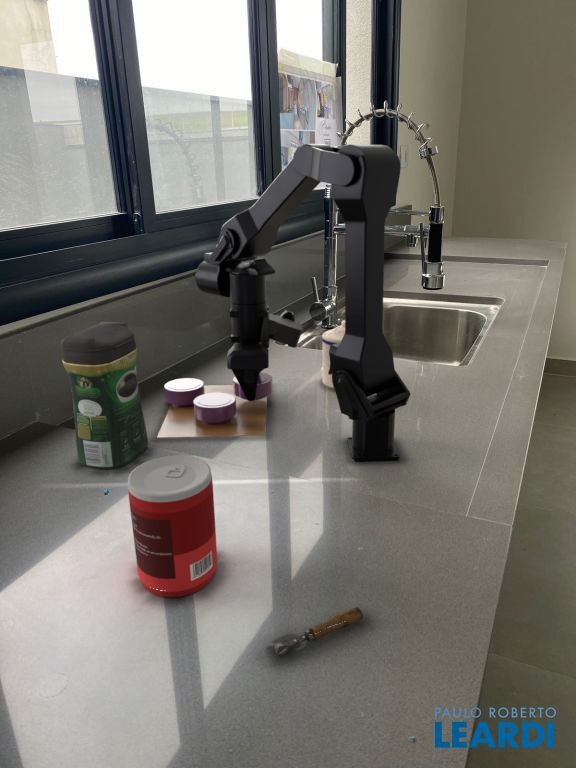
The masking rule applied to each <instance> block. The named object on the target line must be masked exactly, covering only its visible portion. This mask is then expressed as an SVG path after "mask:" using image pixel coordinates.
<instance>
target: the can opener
mask: <svg viewBox="0 0 576 768" xmlns="http://www.w3.org/2000/svg"><path fill="white" fill-rule="evenodd" d="M363 616H364V615H363V612H362V610H361V608H359V607H357V606H356V607H354V608H351V609H347V610H344V611H343V612H340V613H339V614H336V615H334V616H333V617H331V618H330V619H328V620H326V621H324V622H321V623H318V624H317V625H313V626H312V627H310V629H309V628H308V629H307V630H306V631H304V634H296V633H288V634H284V635H282V636H280V637H277V638H275V639H274V640H272V641H271V642H270V643H269V644H268V646H267V647H266V649H265V651H267V650H270V649H271V648H273V649H274V652H275V653H276V655H277V656H278V657H281V656H283V655H285V654H286V653H287V652H288V651H289V650H290V649H291V648H293V647H294V646H297V645H299V647H297V648H294V650H295V651H301V650H303V649H305V648H307V645H308V642H310V643H311V642H312V641H317V640H319V639H321V638H323V637H325V636H326V635H328V634H332V633H334V632H336V631H339V630H342V629H345V628H347V627H350V626H351V625H353V624H355V623H357V622H358V621H360V620H362V619H363ZM344 621H346V622H344ZM342 622H343V623H342ZM339 623H341V624H339ZM335 624H338V625H335ZM332 625H335V626H332ZM329 626H332V627H330V628H327V627H329ZM325 628H326V629H325ZM320 631H321V632H320ZM318 632H319V633H318ZM315 633H317V634H315ZM309 634H312V635H309ZM282 647H283V648H282ZM279 648H282V649H280V650H279Z"/></svg>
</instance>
